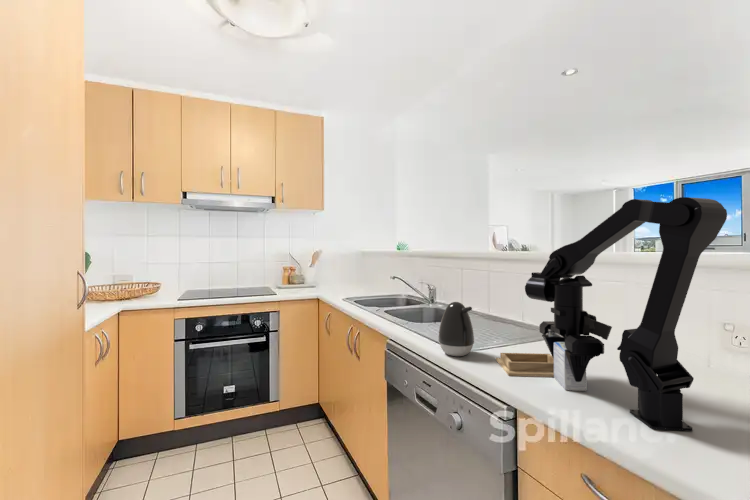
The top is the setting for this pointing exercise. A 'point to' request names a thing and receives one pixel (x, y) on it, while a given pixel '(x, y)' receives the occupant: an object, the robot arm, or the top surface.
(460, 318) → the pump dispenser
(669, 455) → the top surface
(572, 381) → the medicine box
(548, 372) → the box
